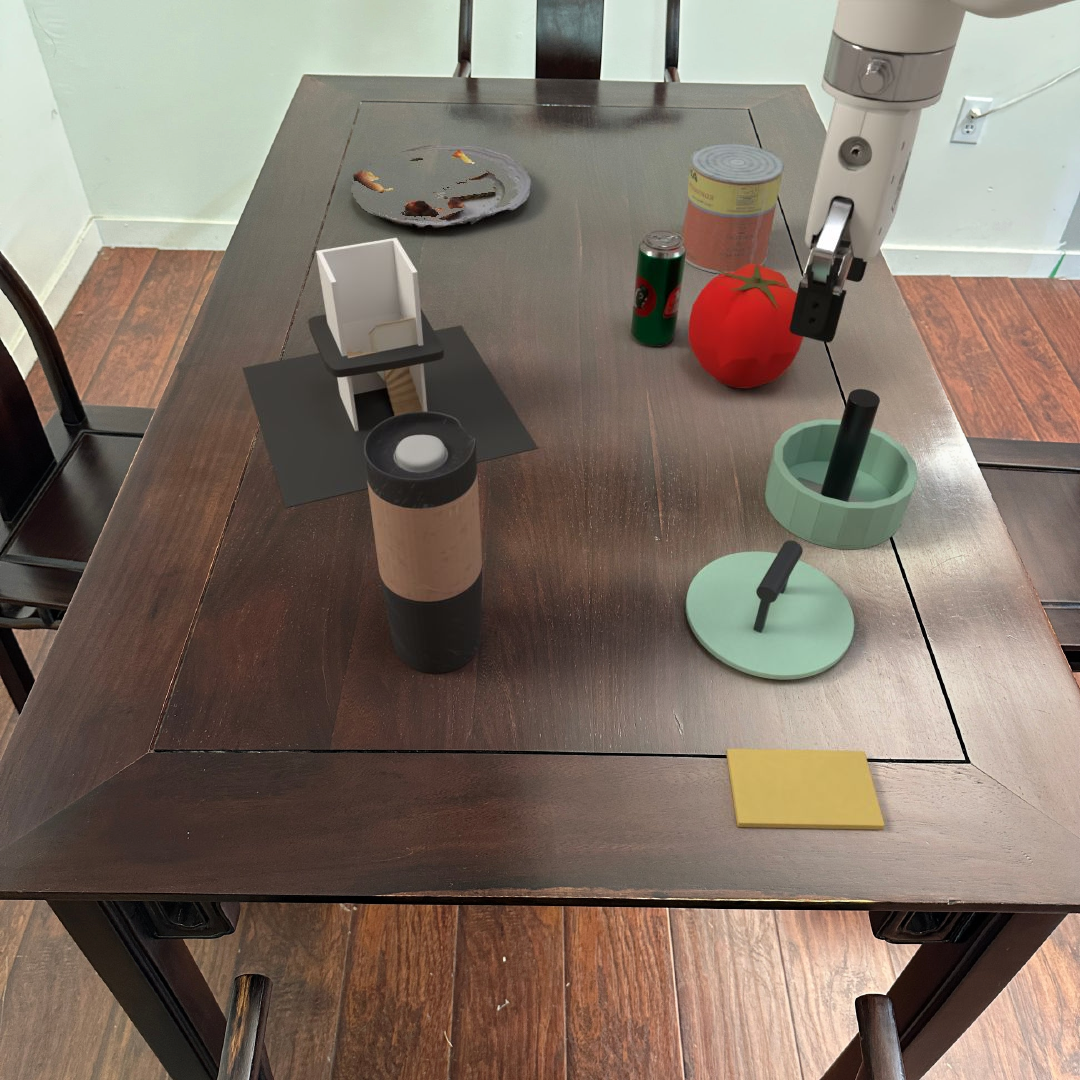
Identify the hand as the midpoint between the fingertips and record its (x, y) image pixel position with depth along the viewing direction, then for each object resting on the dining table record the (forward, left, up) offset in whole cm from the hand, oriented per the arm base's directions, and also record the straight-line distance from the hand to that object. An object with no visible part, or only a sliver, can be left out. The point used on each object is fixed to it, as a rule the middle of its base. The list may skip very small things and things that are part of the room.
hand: (826, 305), depth 73 cm
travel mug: (+18, +28, -22) cm, 40 cm away
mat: (-12, +26, -22) cm, 36 cm away
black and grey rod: (-4, -5, -22) cm, 23 cm away
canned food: (+24, -45, -22) cm, 56 cm away
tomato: (+12, -21, -22) cm, 33 cm away
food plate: (+64, -39, -22) cm, 79 cm away
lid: (-4, +12, -22) cm, 25 cm away
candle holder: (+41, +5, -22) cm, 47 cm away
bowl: (-4, -5, -22) cm, 23 cm away
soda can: (+23, -22, -22) cm, 39 cm away
